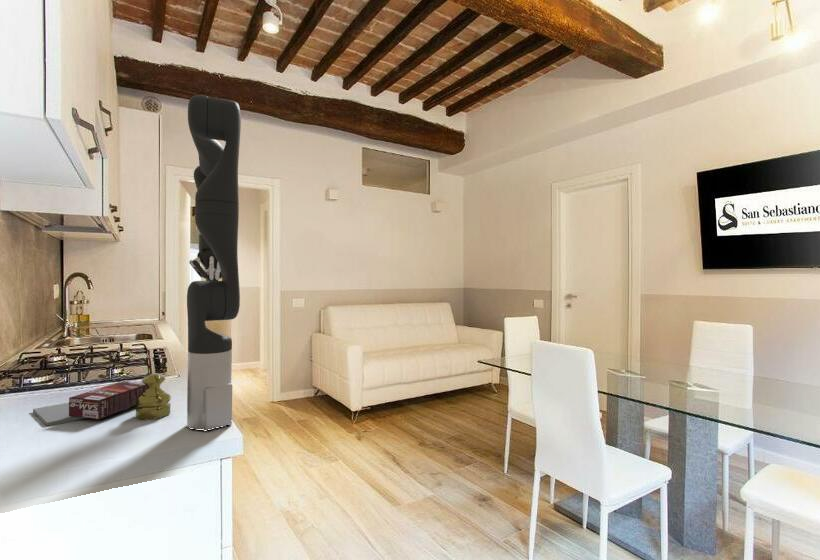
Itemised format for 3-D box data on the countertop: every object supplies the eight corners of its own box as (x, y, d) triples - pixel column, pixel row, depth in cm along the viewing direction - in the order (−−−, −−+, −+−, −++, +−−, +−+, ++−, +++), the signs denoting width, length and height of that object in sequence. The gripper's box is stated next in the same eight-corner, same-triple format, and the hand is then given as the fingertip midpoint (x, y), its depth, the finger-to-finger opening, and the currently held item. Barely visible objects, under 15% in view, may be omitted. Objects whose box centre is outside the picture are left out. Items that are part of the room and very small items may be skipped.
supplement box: (152, 381, 113) (100, 399, 98) (152, 399, 113) (100, 420, 98) (123, 379, 115) (67, 397, 99) (123, 397, 115) (67, 417, 99)
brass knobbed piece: (177, 412, 106) (178, 372, 106) (150, 422, 99) (150, 379, 99) (155, 408, 109) (156, 369, 109) (127, 417, 102) (128, 376, 102)
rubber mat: (128, 409, 108) (128, 406, 108) (46, 426, 95) (46, 422, 95) (110, 398, 116) (110, 395, 116) (33, 412, 104) (33, 408, 104)
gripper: (196, 231, 119) (195, 293, 119) (240, 235, 129) (239, 292, 129) (184, 232, 123) (183, 292, 124) (227, 236, 134) (227, 291, 134)
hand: (212, 292), depth 127 cm, fingers closed
